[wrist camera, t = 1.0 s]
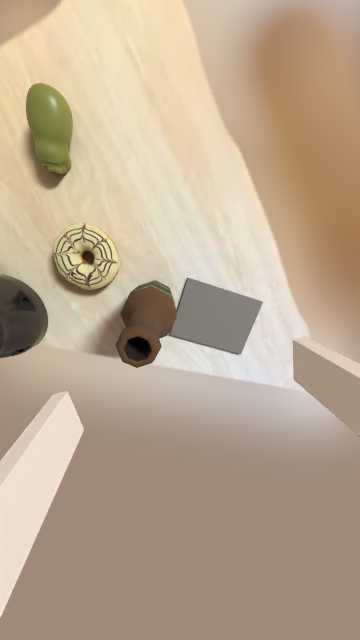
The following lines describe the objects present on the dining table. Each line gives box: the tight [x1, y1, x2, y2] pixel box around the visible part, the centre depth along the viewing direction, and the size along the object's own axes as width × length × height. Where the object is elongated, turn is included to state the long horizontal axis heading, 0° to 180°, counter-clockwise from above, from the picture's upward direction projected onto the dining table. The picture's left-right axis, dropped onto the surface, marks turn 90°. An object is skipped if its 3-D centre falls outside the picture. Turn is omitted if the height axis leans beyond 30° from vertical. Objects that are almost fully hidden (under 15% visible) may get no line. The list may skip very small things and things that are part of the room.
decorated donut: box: [53, 223, 120, 290], centre depth 35 cm, size 10×11×4 cm
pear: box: [26, 83, 73, 174], centre depth 29 cm, size 6×5×10 cm
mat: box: [170, 278, 263, 354], centre depth 41 cm, size 16×12×1 cm
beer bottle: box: [116, 280, 177, 368], centre depth 27 cm, size 8×8×24 cm
